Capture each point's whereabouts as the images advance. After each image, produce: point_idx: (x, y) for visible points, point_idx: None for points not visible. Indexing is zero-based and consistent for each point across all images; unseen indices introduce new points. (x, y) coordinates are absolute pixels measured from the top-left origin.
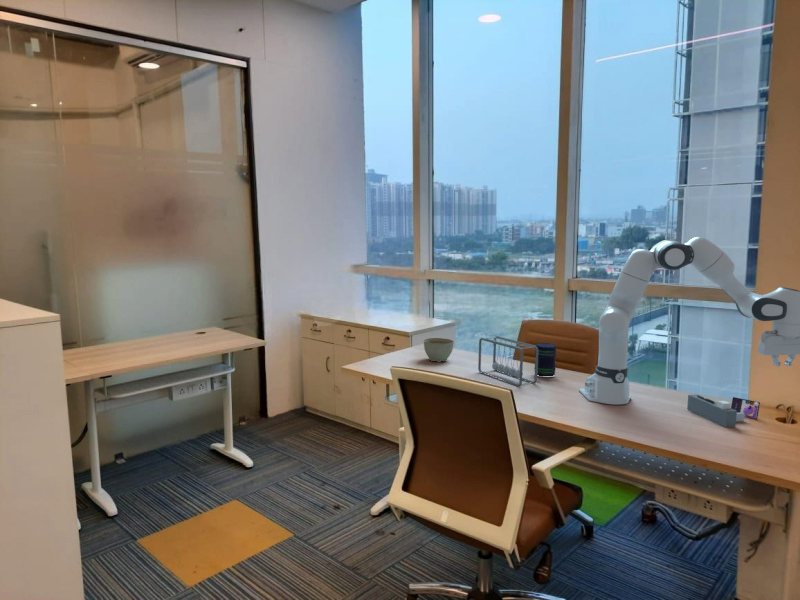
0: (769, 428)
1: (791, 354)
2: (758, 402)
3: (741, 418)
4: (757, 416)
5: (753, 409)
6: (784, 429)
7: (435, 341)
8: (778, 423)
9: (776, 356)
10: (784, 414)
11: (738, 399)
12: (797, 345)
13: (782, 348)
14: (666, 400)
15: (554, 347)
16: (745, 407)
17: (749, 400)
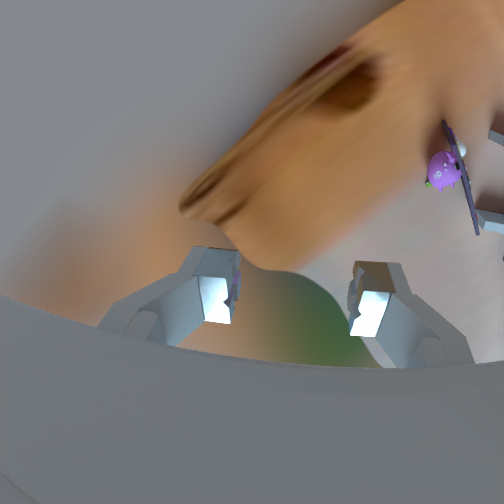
0: (470, 47)
1: (182, 348)
2: (457, 147)
3: (501, 134)
4: (444, 123)
5: (440, 156)
6: (430, 18)
7: None
8: (399, 63)
9: (462, 354)
10: (276, 137)
11: (475, 214)
12: (8, 456)
13: (450, 490)
14: (487, 325)
15: None
16: (460, 176)
17: (467, 180)
